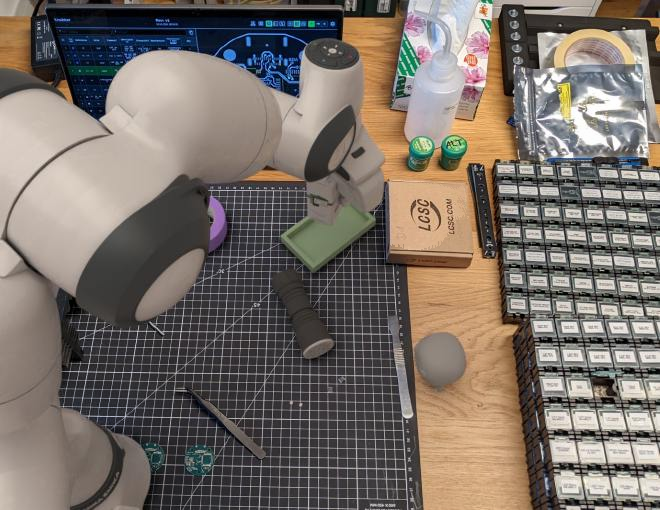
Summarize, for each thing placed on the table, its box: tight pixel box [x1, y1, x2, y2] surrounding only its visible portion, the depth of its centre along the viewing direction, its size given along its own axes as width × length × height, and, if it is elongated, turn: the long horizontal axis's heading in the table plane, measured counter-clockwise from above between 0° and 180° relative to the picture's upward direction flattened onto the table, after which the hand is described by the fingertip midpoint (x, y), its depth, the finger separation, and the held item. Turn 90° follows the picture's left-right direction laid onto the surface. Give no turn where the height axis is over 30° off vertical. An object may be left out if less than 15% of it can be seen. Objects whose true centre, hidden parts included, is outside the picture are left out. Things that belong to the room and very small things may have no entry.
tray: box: [280, 203, 377, 274], centre depth 115 cm, size 16×9×2 cm, turn 132°
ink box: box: [305, 176, 342, 226], centre depth 102 cm, size 9×5×12 cm, turn 156°
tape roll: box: [207, 195, 228, 254], centre depth 114 cm, size 12×12×4 cm
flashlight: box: [271, 268, 335, 360], centre depth 105 cm, size 15×5×5 cm, turn 25°
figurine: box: [413, 331, 467, 394], centre depth 97 cm, size 8×8×12 cm
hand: (329, 188), depth 103 cm, fingers closed on ink box, 6 cm apart
